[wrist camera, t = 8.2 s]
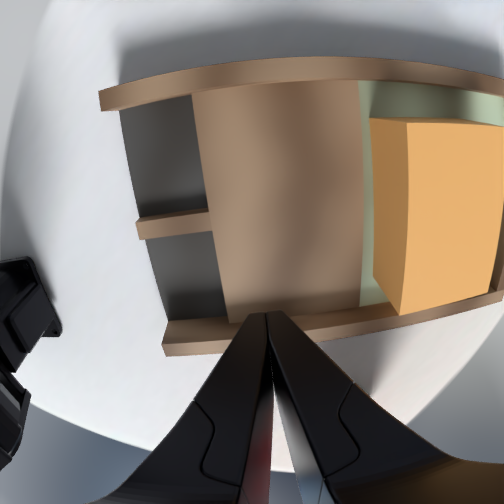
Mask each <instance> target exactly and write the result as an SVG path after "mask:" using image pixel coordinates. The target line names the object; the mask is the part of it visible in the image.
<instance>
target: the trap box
mask: <svg viewBox="0 0 504 504" xmlns="http://www.w3.org/2000/svg"><path fill="white" fill-rule="evenodd" d="M98 92H99V100H100V107H101V111H117V110H119V113H120V120H121V126H122V132H123V138H124V144H125V150H126V155H127V160H128V166H129V171H130V176H131V180H132V185H133V190H134V195H135V199H136V204H137V208H138V212H139V217H140V218H139V219H138V220H137V221H136V227H137V231H138V235H139V239H140V240H144V239H145V241H146V245H147V249H148V253H149V257H150V260H151V264H152V268H153V271H154V275H155V278H156V282H157V285H158V289H159V292H160V296H161V299H162V302H163V306H164V309H165V312H166V315H167V319H168V324H167V327H166V330H165V334H164V337H163V341H162V344H161V345H162V347H163V350H164V353H165V355H166V357H168V356H188V355H204V354H217V353H224V352H225V350H226V349H227V347H228V345H229V344H230V342H231V341H232V339H233V338H234V336H235V335H236V333H237V331H238V330H239V328H240V327H241V325H242V324H243V322H244V320H245V319H246V317H247V316H248V314H249V313H253V312H262V311H263V312H265V313H266V312H267V311H271V310H279V309H281V310H283V311H284V312H285V313H286V314H287V315H288V316H289V317H290V318H291V319H292V320H293V321H294V322H295V323H296V324H297V325H298V326H299V327H300V328H301V329H302V330H303V331H304V332H305V333H306V334H307V335H308V336H309V337H310V338H311V339H312V340H313V341H314V342H322V341H328V340H334V339H341V338H347V337H352V336H358V335H363V334H369V333H374V332H379V331H384V330H389V329H394V328H399V327H404V326H408V325H413V324H417V323H422V322H426V321H430V320H434V319H438V318H442V317H446V316H450V315H454V314H458V313H462V312H465V311H469V310H473V309H476V308H480V307H483V306H487V305H490V304H493V303H497V302H500V301H502V298H503V295H504V203H503V212H502V220H501V227H500V234H499V240H498V246H497V251H496V257H495V262H494V267H493V271H492V276H491V280H490V284H489V288H488V292H487V293H484V294H480V295H477V296H474V297H470V298H467V299H463V300H460V301H456V302H452V303H449V304H445V305H441V306H437V307H433V308H429V309H426V310H421V311H417V312H413V313H409V314H405V315H400V316H399V314H398V313H397V311H396V310H395V308H394V307H393V305H392V304H391V302H390V301H389V299H388V298H387V296H386V295H385V293H384V292H383V291H382V289H381V288H380V286H379V285H378V283H377V282H376V280H375V279H374V277H373V249H374V198H373V169H372V151H371V137H370V125H369V118H380V117H432V118H457V119H466V120H472V121H477V122H483V123H488V124H493V125H498V126H503V127H504V79H500V78H497V77H493V76H489V75H485V74H480V73H476V72H471V71H467V70H462V69H457V68H451V67H446V66H440V65H434V64H427V63H420V62H412V61H403V60H393V59H382V58H366V57H338V56H314V57H285V58H270V59H258V60H247V61H238V62H230V63H222V64H215V65H209V66H202V67H196V68H191V69H185V70H180V71H175V72H170V73H165V74H161V75H156V76H152V77H148V78H144V79H140V80H136V81H132V82H128V83H124V84H121V85H117V86H114V87H110V88H107V89H104V90H100V91H98ZM266 321H267V320H266Z"/></svg>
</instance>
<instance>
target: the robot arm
mask: <svg viewBox="0 0 504 504" xmlns="http://www.w3.org/2000/svg"><path fill="white" fill-rule="evenodd" d="M26 263H27V264H26ZM27 265H28V266H27ZM266 320H267V321H266ZM61 334H62V328H61V326H60V324H59V322H58V320H57V317H56V315H55V313H54V311H53V309H52V307H51V304H50V302H49V300H48V298H47V295H46V293H45V291H44V288H43V286H42V283H41V281H40V278H39V276H38V273H37V271H36V268H35V265H34V263H33V261H32V259H31V258H29V257H21V258H15V259H9V260H4V261H0V471H1V470H2V469H3V468H4V467H5V466H6V465H7V464H8V463H10V462H11V460H12V457H13V456H14V455H15V453H16V452H17V450H18V448H19V446H20V443H21V440H22V435H23V430H24V425H25V420H26V416H27V411H28V407H29V403H30V399H31V394H30V393H29V391H28V390H27V389H24V388H23V386H22V385H21V384H20V383H19V382H18V381H17V380H16V378H15V377H14V376H13V375H12V374H11V373H16V371H17V370H18V368H19V367H20V365H21V363H22V362H23V360H24V359H25V357H26V356H27V354H28V353H30V352H31V351H32V350H33V348H34V347H35V345H36V344H37V342H38V341H39V339H40V338H41V337H59V336H60V335H61ZM270 357H271V358H270ZM271 366H272V367H271ZM272 375H273V376H272ZM273 384H274V387H273ZM274 391H275V396H276V401H277V404H278V408H279V412H280V416H281V420H282V424H283V428H284V432H285V436H286V440H287V444H288V447H289V451H290V455H291V459H292V463H293V467H294V471H295V474H296V478H297V482H298V486H299V490H300V493H301V497H302V501H303V504H504V464H500V463H487V462H477V461H468V460H463V459H460V458H456V457H454V456H451V455H449V454H447V453H445V452H443V451H442V450H440V449H438V448H437V447H435V446H434V445H432V444H431V443H430V442H428V441H427V440H425V439H424V438H422V437H421V436H420V435H418V434H417V433H416V432H414V431H413V430H411V429H410V428H409V427H407V426H406V425H404V424H403V423H402V422H400V421H399V420H398V419H396V418H395V417H394V416H392V415H391V414H390V413H388V412H387V411H386V410H385V409H383V408H382V407H381V406H380V405H378V404H377V403H376V402H375V401H374V400H373V399H372V398H371V397H370V396H369V395H367V394H366V393H365V392H364V391H363V390H362V389H361V388H360V387H359V386H358V385H357V384H356V383H354V381H353V380H352V379H351V378H350V377H349V376H348V375H347V374H346V373H345V372H344V371H343V370H342V369H341V368H340V367H339V366H338V365H337V364H336V363H335V362H334V361H333V360H332V359H331V358H330V357H329V356H328V355H327V354H326V353H325V352H324V351H323V350H322V349H321V348H320V347H319V346H318V345H317V344H316V343H315V342H314V341H313V340H312V339H311V338H310V337H309V336H308V335H307V334H306V333H305V332H304V331H303V330H302V329H301V328H300V327H299V326H298V325H297V324H296V323H295V322H294V321H293V320H292V319H291V318H290V317H289V316H288V315H287V314H286V313H285V312H284V311H283V310H281V309H279V310H271V311H267V312H266V313H265V312H263V311H262V312H253V313H249V314H248V316H247V317H246V319H245V320H244V322H243V324H242V325H241V327H240V328H239V330H238V331H237V333H236V335H235V336H234V338H233V339H232V341H231V342H230V344H229V345H228V347H227V349H226V350H225V352H224V353H223V355H222V356H221V358H220V359H219V361H218V362H217V364H216V365H215V367H214V368H213V370H212V372H211V373H210V375H209V376H208V378H207V379H206V381H205V382H204V384H203V385H202V387H201V388H200V390H199V391H198V393H197V394H196V396H195V397H194V399H193V400H194V401H191V403H190V404H189V406H188V407H187V409H186V410H185V412H184V413H183V415H182V416H181V417H180V419H179V420H178V421H177V423H176V424H175V426H174V427H173V428H172V429H171V431H170V432H169V433H168V434H167V435H166V437H165V438H164V439H163V440H162V441H161V442H160V444H159V445H158V446H157V447H156V448H155V449H154V450H153V451H152V452H151V453H150V455H149V456H148V457H147V458H146V459H145V460H144V461H143V462H142V463H141V464H140V465H139V466H138V468H136V470H135V471H134V472H133V473H132V474H131V475H130V476H129V477H128V478H127V479H126V480H125V481H124V482H123V483H122V484H121V485H120V486H119V487H118V488H116V489H115V490H114V491H112V492H111V493H109V494H108V495H106V496H104V497H102V498H100V499H98V500H95V501H92V502H89V503H85V504H268V503H269V487H270V486H269V485H270V469H271V451H272V430H273V408H274Z"/></svg>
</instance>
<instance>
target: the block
mask: <svg viewBox="0 0 504 504" xmlns="http://www.w3.org/2000/svg"><path fill="white" fill-rule="evenodd" d="M369 125H370V137H371V151H372V169H373V198H374V249H373V277H374V279H375V280H376V282H377V283H378V285H379V286H380V288H381V289H382V291H383V292H384V293H385V295H386V296H387V298H388V299H389V301H390V302H391V304H392V305H393V307H394V308H395V310H396V311H397V313H398V314H399V316H400V315H405V314H409V313H413V312H417V311H421V310H426V309H429V308H433V307H437V306H441V305H445V304H449V303H452V302H456V301H460V300H463V299H467V298H470V297H474V296H477V295H480V294H484V293H487V292H488V288H489V284H490V280H491V276H492V271H493V267H494V262H495V257H496V251H497V246H498V240H499V234H500V227H501V220H502V212H503V203H504V127H503V126H498V125H493V124H488V123H483V122H477V121H472V120H466V119H457V118H432V117H380V118H369Z"/></svg>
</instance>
